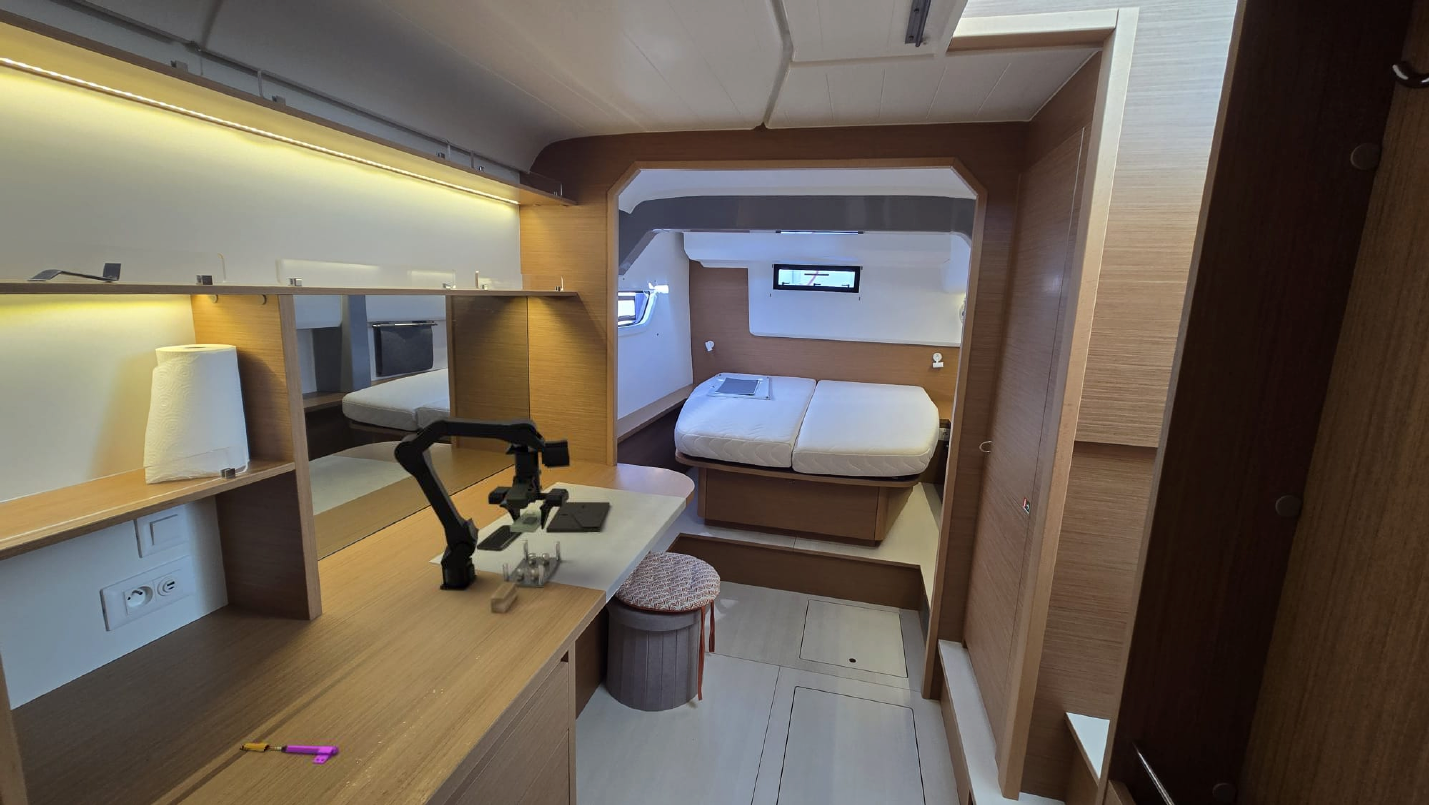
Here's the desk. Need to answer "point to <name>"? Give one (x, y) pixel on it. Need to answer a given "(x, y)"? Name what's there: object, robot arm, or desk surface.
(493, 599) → the block
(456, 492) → the desk surface
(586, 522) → the picture frame
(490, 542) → the phone
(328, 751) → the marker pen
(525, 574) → the chassis
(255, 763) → the desk surface
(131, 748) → the desk surface
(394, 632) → the desk surface
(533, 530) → the board
